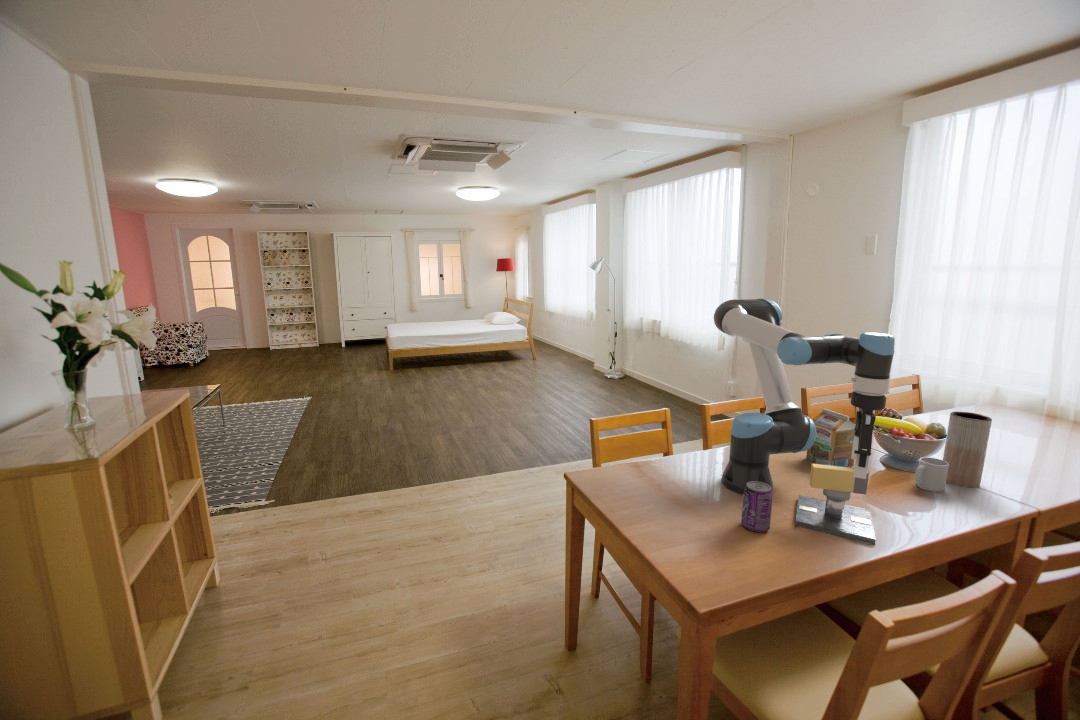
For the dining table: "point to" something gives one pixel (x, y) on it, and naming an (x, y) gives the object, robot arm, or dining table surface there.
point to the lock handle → (837, 481)
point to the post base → (835, 518)
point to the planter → (966, 448)
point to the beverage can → (757, 506)
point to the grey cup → (931, 474)
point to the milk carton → (832, 440)
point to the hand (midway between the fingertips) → (858, 468)
